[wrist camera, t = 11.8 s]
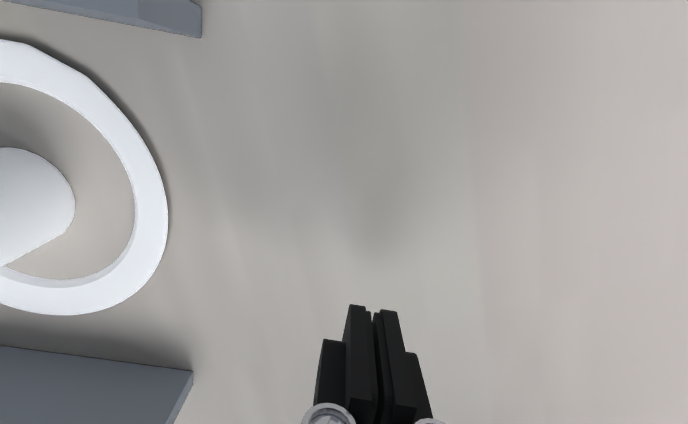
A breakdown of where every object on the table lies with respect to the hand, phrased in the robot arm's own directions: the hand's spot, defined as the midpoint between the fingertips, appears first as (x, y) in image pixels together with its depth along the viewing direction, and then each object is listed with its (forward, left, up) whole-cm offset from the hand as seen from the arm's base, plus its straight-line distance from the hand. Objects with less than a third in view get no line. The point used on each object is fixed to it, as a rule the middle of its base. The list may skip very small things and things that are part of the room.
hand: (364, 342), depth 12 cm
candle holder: (+15, -2, -5) cm, 16 cm away
